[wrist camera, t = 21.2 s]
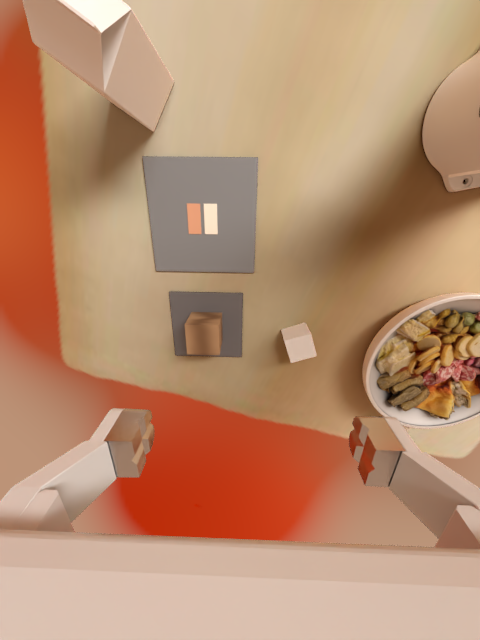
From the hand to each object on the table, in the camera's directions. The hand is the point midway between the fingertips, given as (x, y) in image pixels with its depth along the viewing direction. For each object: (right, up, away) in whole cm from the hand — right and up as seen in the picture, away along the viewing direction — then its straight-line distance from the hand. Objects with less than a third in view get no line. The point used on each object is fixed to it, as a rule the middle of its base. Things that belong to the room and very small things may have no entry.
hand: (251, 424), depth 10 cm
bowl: (+39, -3, +44) cm, 59 cm away
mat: (-7, +3, +42) cm, 42 cm away
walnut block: (-7, +3, +41) cm, 42 cm away
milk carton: (-15, +37, +27) cm, 48 cm away
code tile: (-7, +21, +34) cm, 40 cm away
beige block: (+11, +1, +42) cm, 44 cm away
